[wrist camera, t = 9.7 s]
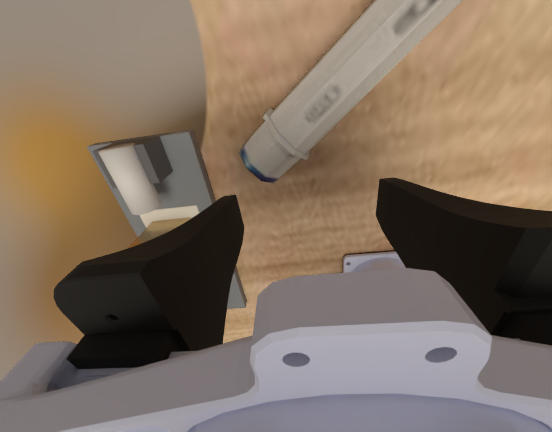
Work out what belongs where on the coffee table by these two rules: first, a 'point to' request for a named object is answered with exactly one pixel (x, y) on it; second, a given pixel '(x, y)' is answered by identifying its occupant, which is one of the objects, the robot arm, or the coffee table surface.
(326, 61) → the grey long handheld tool
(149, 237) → the block
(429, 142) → the coffee table surface
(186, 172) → the coupling bed
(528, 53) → the coffee table surface
